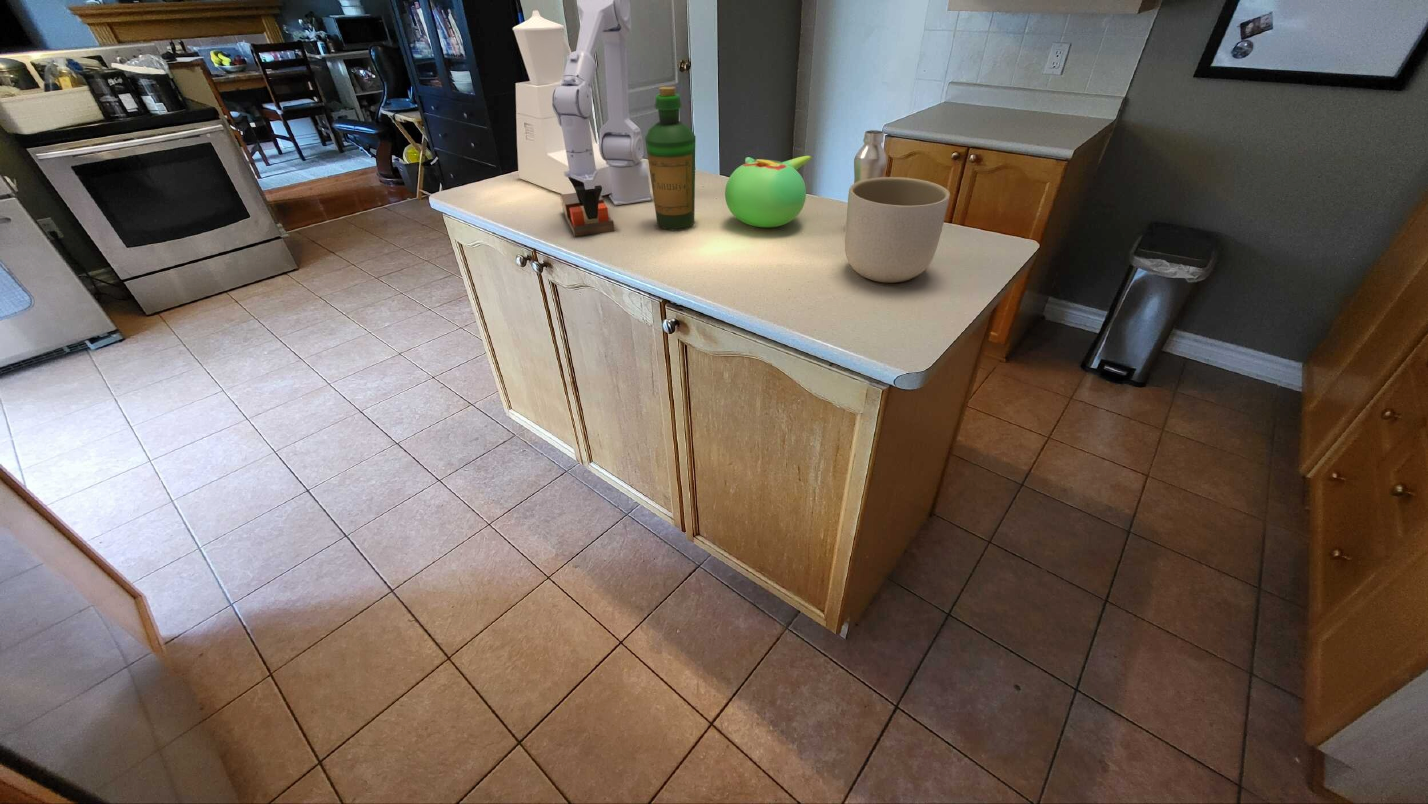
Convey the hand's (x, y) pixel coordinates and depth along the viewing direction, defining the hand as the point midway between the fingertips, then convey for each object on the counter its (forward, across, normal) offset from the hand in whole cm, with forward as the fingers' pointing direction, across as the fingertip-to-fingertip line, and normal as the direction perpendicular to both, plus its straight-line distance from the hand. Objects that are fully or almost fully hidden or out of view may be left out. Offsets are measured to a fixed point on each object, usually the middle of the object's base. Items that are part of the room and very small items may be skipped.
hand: (589, 213), depth 129 cm
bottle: (+4, +6, +18) cm, 20 cm away
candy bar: (+2, 0, 0) cm, 2 cm away
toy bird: (+4, +14, +38) cm, 40 cm away
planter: (+4, +47, +48) cm, 67 cm away
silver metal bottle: (+4, +26, +56) cm, 61 cm away
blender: (+4, -37, +3) cm, 37 cm away
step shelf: (+3, -4, 0) cm, 6 cm away
